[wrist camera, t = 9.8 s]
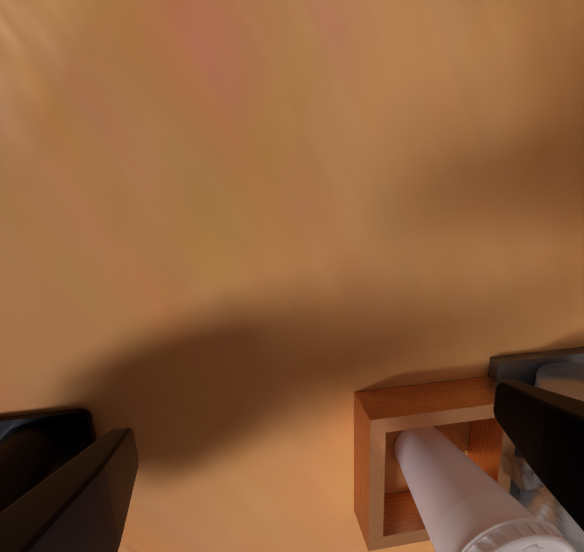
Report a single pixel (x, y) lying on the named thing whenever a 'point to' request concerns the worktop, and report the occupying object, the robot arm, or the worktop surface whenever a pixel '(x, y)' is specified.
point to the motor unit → (482, 448)
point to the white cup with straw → (467, 501)
